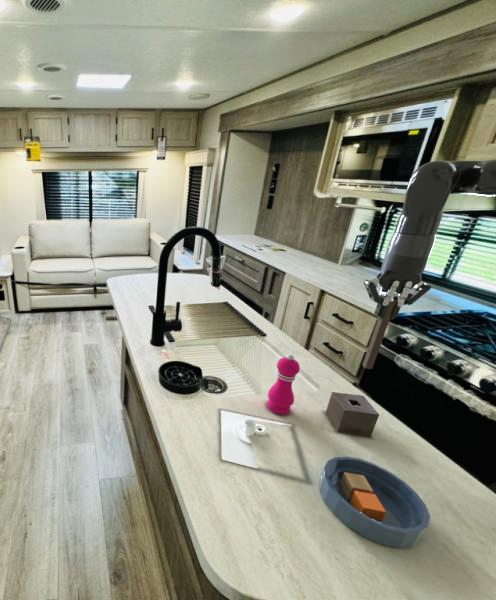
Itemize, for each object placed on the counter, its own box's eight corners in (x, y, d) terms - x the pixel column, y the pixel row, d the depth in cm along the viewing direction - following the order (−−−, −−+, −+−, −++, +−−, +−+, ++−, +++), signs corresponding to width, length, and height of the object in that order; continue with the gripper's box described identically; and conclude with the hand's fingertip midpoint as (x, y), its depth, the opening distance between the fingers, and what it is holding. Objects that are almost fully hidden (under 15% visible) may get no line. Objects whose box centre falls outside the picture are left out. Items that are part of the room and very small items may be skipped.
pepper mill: (268, 414, 98) (281, 359, 91) (263, 399, 105) (274, 347, 97) (294, 417, 96) (309, 362, 89) (286, 402, 103) (300, 349, 96)
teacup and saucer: (264, 428, 92) (267, 417, 91) (268, 449, 86) (271, 437, 84) (233, 421, 95) (234, 411, 94) (234, 441, 88) (236, 429, 87)
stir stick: (368, 365, 86) (392, 299, 79) (372, 369, 85) (396, 301, 78) (362, 365, 87) (385, 298, 79) (365, 368, 85) (388, 301, 78)
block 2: (369, 506, 69) (375, 494, 68) (380, 524, 66) (386, 512, 64) (349, 502, 70) (354, 490, 69) (358, 520, 67) (363, 507, 65)
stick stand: (355, 416, 96) (363, 395, 93) (370, 436, 89) (379, 414, 86) (325, 412, 98) (331, 391, 95) (337, 431, 91) (344, 410, 88)
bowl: (388, 481, 76) (395, 464, 74) (442, 561, 60) (454, 542, 58) (307, 466, 80) (312, 450, 78) (338, 538, 64) (345, 520, 62)
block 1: (358, 487, 74) (363, 475, 72) (368, 503, 70) (373, 491, 69) (339, 483, 75) (344, 471, 73) (347, 499, 71) (352, 487, 70)
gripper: (382, 254, 72) (361, 321, 79) (455, 256, 69) (427, 326, 75) (365, 247, 79) (346, 310, 85) (431, 249, 76) (406, 314, 82)
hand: (384, 317), depth 80 cm, fingers closed on stir stick, 1 cm apart
